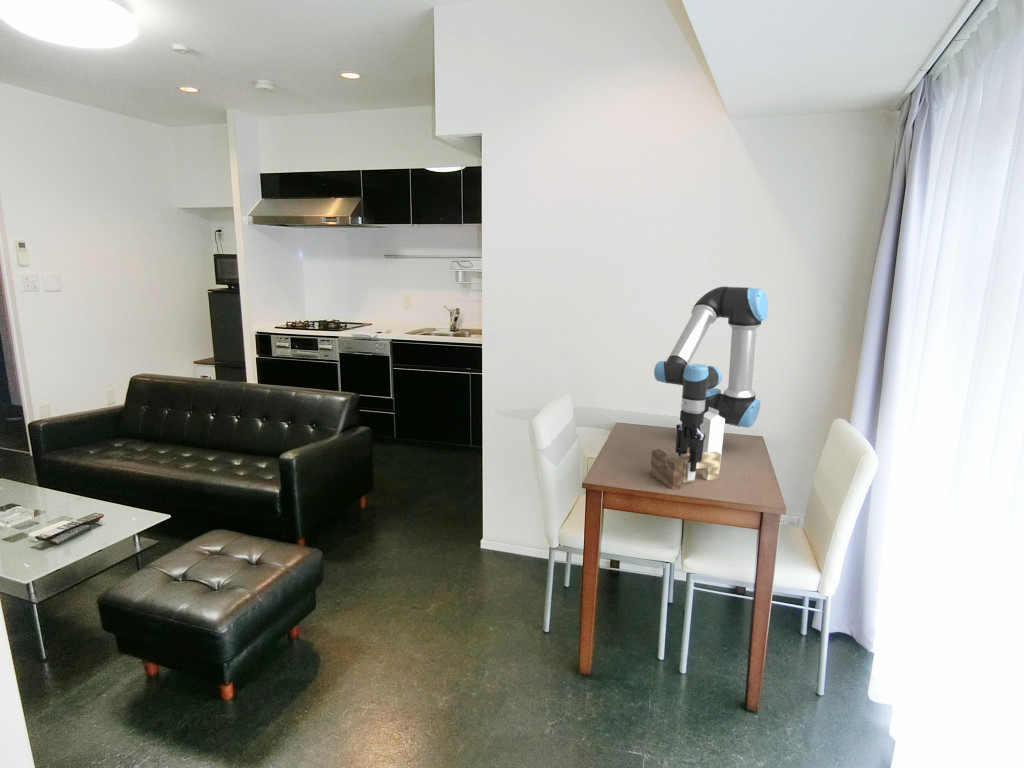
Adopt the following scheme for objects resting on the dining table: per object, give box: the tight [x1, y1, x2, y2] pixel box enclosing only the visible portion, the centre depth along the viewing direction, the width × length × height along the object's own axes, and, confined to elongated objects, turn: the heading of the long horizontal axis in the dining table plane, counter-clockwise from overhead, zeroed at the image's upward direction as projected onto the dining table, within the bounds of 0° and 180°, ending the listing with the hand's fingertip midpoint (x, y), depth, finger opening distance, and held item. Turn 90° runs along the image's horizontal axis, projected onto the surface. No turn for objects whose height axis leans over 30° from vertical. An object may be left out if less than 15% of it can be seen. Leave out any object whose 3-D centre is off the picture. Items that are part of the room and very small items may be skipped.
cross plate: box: [680, 452, 722, 483], centre depth 200 cm, size 14×3×9 cm, turn 108°
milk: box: [700, 407, 726, 470], centre depth 212 cm, size 6×6×22 cm
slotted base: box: [649, 448, 683, 490], centre depth 198 cm, size 3×14×9 cm, turn 18°
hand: (686, 477), depth 200 cm, fingers open, 4 cm apart
